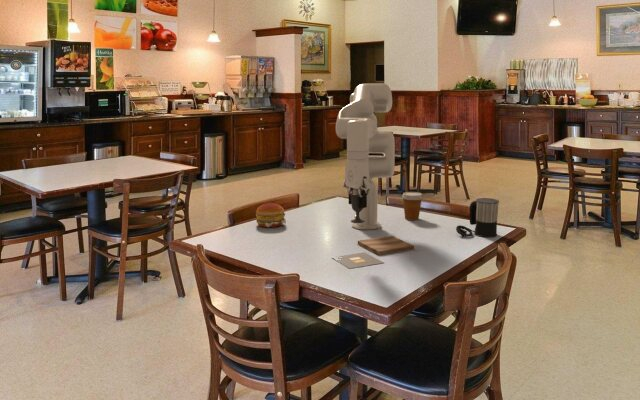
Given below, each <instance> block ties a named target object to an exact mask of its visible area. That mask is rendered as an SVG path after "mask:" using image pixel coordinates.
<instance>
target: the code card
mask: <svg viewBox="0 0 640 400" xmlns="http://www.w3.org/2000/svg"><path fill="white" fill-rule="evenodd" d="M338 256H339V257H342V258H339V257H338V259H341V260H337V261H336V262H338V261H339V262H340V263H339V262H338V263H339V264H340V265H342V264H343V266H344V265H345V266H344V267H346V268H347V267H348V268H347V269H350V268H351V269H355V268H356V267H357V268H361V267H363V268H364V267H367V266H374V265H381V264H384V263H385V262H383V261H382V260H380V259H378V258H376V257H375V256H373V255H371V254H369V253H367V252H364V251H363V252H359V253H351V254H345V255H338Z"/></svg>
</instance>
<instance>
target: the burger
mask: <svg viewBox="0 0 640 400" xmlns="http://www.w3.org/2000/svg"><path fill="white" fill-rule="evenodd" d="M285 215H286V213H285V209H284V207H283V206H282V205H280V204H277V203H272V202H269V203H268V202H267V203H264V204H261V205H260V206H258V207H257V209H256V211H255V216H256V219H255V221H256V223H257V225H258V226H260V227H263V228H264V227H265V228H275V227H280V226H282V225H283V224H284V225H286V223H287V221H286V218H285V217H286V216H285Z"/></svg>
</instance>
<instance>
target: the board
mask: <svg viewBox="0 0 640 400" xmlns="http://www.w3.org/2000/svg"><path fill="white" fill-rule="evenodd" d="M357 245H358V246H360V247H362V248H364V249H365V250H367V251H369V252H372V253H374V254H375V255H377V256H381V255H382V256H383V255H387V254H394V253H401V252H408V251H412V250H415V245H413V244H411V243H410V242H407V241H404V240H402V239H400V238H398V237H396V236H393V235H389V236H382V237H375V238H367V239H362V240H357Z"/></svg>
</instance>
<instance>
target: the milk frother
mask: <svg viewBox="0 0 640 400" xmlns="http://www.w3.org/2000/svg"><path fill="white" fill-rule="evenodd" d="M499 202H500V200H499V199H496V198H489V197H481V198H480V197H479V198H476V200H473V201H472V202H470V205H469V225H471V226H473V225H474V226H475V228H474V230H472V229H471V228H468V227H467V226H464V225H457V226H456V228H455V230H456V233H457V234H459V235H460V236H461V237H466V238H467V237H469V238H470V237H472V236H473V233H474V235H475V236H478V237H482V238H484V237H485V238H495V237H497V236H498V231H497V229H498V227H497V226H498V216H499V215H498V214H499ZM467 232H468V233H467Z"/></svg>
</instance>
